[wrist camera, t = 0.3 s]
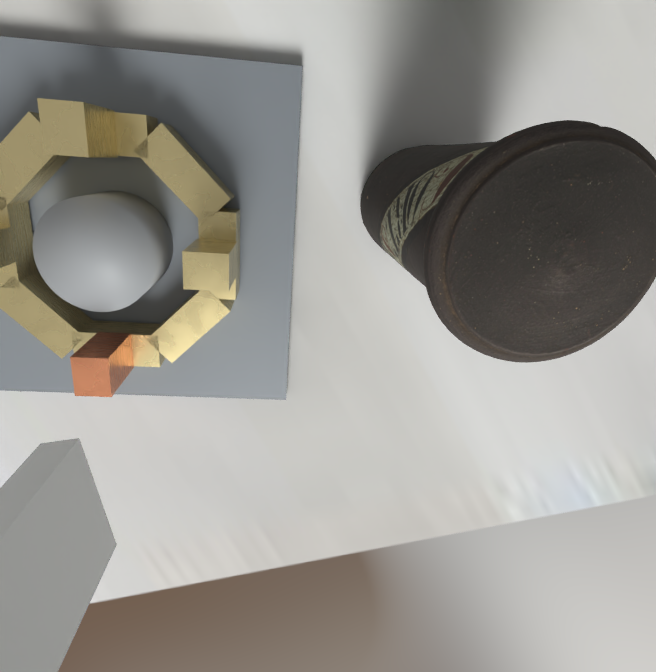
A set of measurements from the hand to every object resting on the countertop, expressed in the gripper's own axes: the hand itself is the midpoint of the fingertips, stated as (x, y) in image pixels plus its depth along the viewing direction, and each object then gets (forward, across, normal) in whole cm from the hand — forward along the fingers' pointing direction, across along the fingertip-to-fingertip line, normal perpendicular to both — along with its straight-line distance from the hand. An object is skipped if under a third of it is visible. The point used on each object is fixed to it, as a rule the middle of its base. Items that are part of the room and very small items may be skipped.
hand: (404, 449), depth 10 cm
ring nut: (+26, -14, +2) cm, 29 cm away
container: (+27, +7, +2) cm, 28 cm away
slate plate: (+27, -14, +2) cm, 30 cm away
